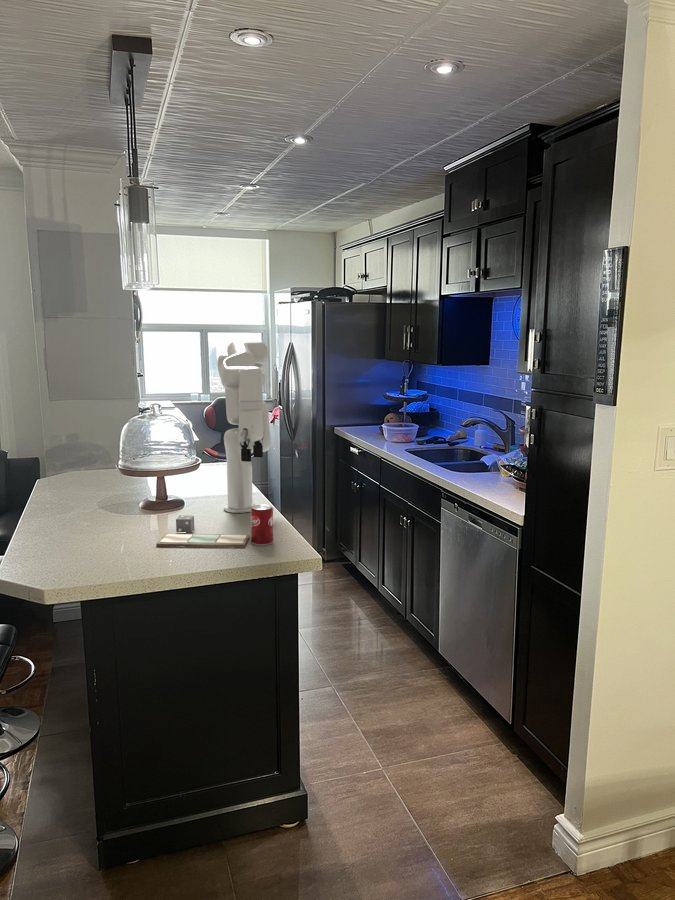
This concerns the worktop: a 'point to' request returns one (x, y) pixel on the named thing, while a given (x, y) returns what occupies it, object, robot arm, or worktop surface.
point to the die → (185, 523)
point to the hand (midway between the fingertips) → (252, 459)
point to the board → (203, 540)
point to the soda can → (262, 525)
